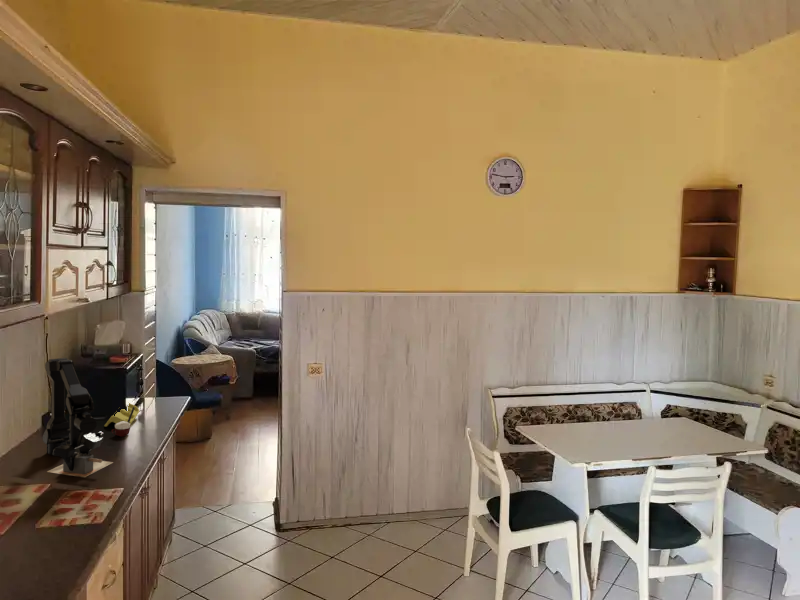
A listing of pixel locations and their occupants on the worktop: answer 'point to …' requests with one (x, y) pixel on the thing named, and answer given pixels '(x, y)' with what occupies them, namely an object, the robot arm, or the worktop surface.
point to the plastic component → (123, 415)
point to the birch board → (96, 467)
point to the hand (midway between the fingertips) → (78, 467)
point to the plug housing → (82, 464)
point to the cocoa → (123, 426)
